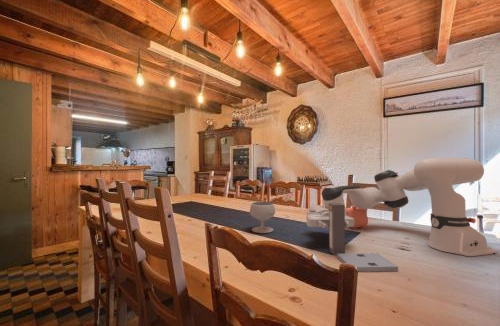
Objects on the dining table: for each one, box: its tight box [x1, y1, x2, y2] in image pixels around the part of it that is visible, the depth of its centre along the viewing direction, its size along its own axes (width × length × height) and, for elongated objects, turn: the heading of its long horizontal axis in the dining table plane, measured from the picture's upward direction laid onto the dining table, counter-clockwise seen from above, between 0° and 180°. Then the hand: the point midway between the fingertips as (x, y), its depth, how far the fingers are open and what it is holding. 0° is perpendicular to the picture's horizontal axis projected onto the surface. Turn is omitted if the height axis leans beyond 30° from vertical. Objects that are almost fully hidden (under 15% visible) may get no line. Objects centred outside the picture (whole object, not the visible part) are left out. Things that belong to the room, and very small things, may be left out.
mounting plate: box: [336, 252, 399, 273], centre depth 83 cm, size 16×12×2 cm
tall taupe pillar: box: [328, 203, 346, 256], centre depth 94 cm, size 5×5×20 cm
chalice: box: [249, 201, 276, 234], centre depth 126 cm, size 14×14×15 cm
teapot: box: [345, 205, 369, 230], centre depth 133 cm, size 20×12×12 cm, turn 109°
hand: (336, 225), depth 94 cm, fingers open, 8 cm apart
